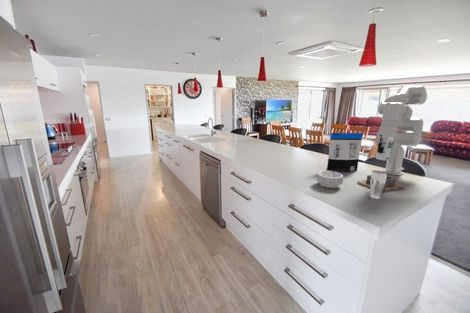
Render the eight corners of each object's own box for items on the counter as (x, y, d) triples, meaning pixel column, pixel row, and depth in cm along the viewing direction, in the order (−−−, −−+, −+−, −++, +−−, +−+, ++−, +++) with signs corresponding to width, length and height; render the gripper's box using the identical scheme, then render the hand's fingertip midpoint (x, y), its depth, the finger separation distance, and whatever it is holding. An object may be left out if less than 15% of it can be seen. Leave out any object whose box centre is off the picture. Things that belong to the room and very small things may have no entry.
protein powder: (360, 172, 165) (366, 133, 158) (329, 171, 165) (333, 133, 158) (353, 168, 174) (359, 132, 167) (324, 168, 174) (328, 132, 167)
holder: (378, 180, 146) (380, 172, 145) (403, 188, 132) (405, 179, 130) (357, 183, 140) (358, 174, 138) (380, 192, 125) (382, 183, 123)
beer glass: (364, 195, 121) (368, 170, 118) (376, 194, 122) (380, 169, 118) (373, 200, 114) (378, 174, 111) (385, 200, 115) (390, 173, 111)
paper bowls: (311, 183, 139) (312, 172, 137) (328, 180, 145) (329, 169, 143) (329, 191, 126) (330, 179, 124) (347, 188, 131) (349, 176, 130)
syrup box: (384, 160, 129) (389, 137, 126) (375, 158, 135) (378, 136, 131) (390, 159, 132) (394, 136, 129) (380, 157, 137) (384, 135, 134)
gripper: (392, 122, 134) (387, 150, 138) (372, 123, 129) (368, 152, 133) (405, 123, 127) (399, 152, 132) (384, 124, 122) (379, 154, 126)
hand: (383, 152), depth 132 cm, fingers closed on syrup box, 6 cm apart
